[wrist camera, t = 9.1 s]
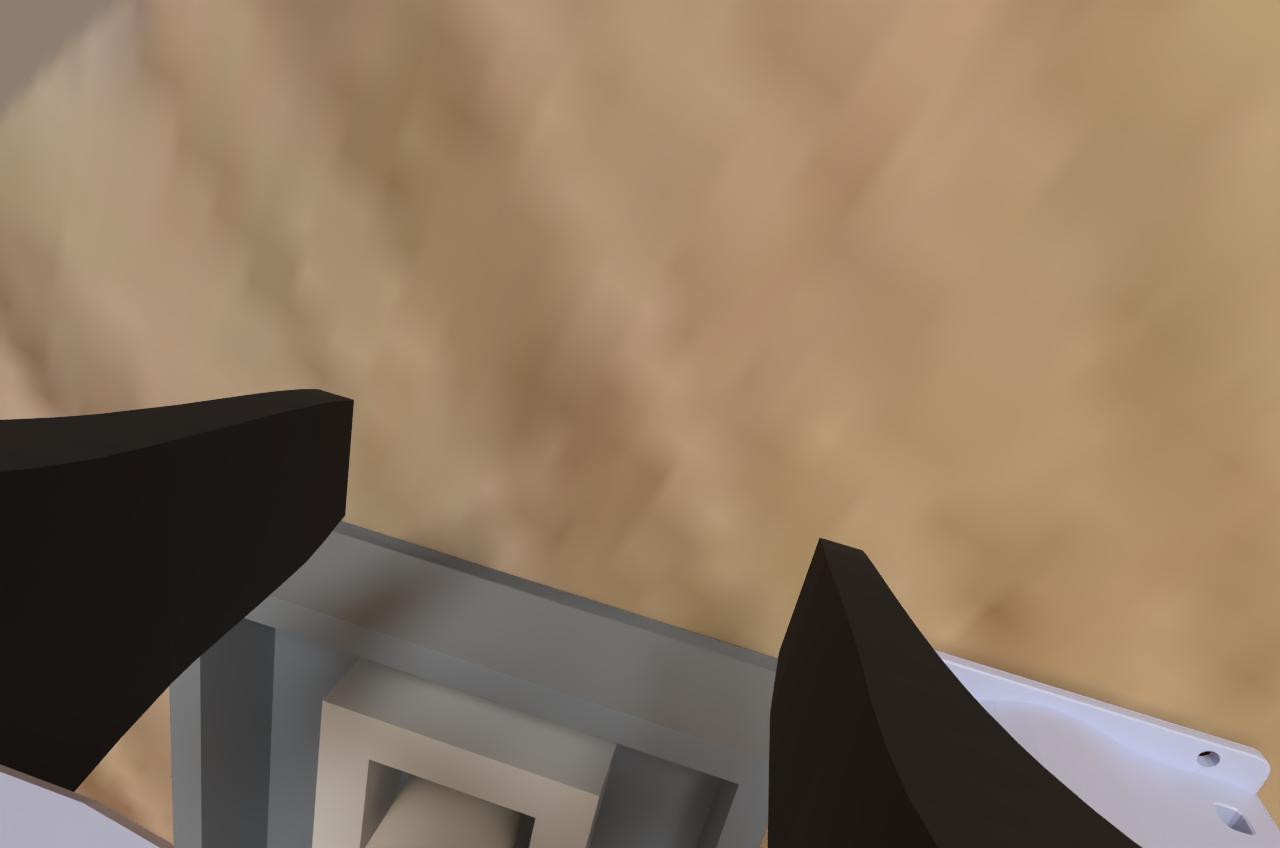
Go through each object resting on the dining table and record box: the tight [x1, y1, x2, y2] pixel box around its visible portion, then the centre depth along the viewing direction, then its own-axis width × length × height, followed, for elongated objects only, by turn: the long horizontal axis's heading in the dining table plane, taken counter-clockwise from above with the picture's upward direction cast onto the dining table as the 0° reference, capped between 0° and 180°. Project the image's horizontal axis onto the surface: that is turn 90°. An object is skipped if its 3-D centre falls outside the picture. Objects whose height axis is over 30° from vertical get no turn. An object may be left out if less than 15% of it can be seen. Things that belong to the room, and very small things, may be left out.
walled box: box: [169, 521, 778, 848], centre depth 25 cm, size 17×16×4 cm
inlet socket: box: [312, 657, 618, 848], centre depth 25 cm, size 8×8×3 cm
